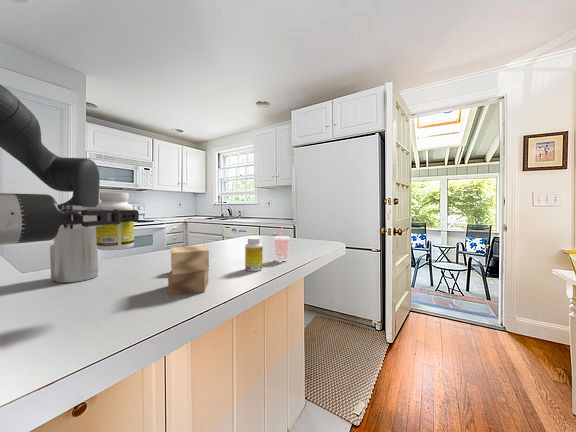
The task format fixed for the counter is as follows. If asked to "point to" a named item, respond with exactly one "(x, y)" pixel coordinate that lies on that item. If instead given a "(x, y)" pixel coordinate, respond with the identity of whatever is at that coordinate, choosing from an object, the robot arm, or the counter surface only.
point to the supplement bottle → (253, 254)
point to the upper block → (189, 259)
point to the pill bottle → (114, 234)
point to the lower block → (187, 283)
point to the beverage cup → (281, 246)
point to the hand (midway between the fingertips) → (127, 214)
